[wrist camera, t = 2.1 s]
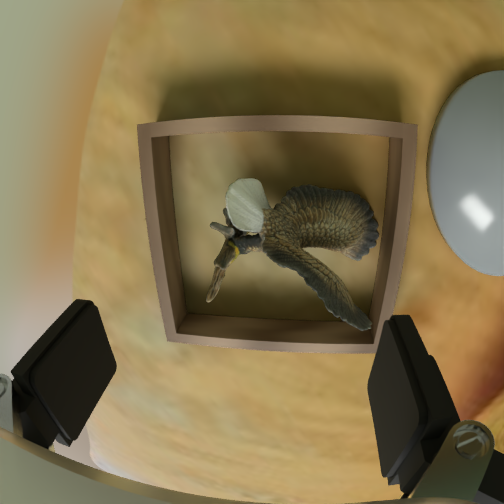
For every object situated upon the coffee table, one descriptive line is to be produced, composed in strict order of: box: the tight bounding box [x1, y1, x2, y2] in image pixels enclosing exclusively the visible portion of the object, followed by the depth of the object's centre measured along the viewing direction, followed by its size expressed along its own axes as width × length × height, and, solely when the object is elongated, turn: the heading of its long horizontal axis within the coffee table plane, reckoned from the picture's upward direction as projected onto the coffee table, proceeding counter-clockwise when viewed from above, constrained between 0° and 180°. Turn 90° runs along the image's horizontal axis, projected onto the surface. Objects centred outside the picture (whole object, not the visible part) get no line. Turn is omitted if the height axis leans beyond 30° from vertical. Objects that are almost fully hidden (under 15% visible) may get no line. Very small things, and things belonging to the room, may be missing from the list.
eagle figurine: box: [206, 178, 379, 331], centre depth 17 cm, size 8×7×9 cm
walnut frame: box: [137, 115, 417, 353], centre depth 19 cm, size 15×14×2 cm
